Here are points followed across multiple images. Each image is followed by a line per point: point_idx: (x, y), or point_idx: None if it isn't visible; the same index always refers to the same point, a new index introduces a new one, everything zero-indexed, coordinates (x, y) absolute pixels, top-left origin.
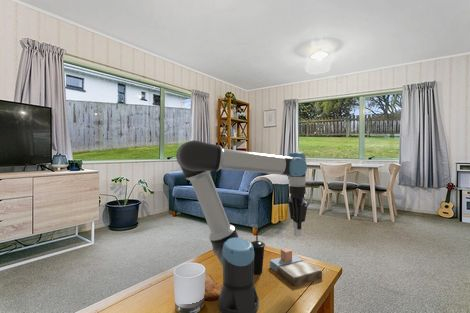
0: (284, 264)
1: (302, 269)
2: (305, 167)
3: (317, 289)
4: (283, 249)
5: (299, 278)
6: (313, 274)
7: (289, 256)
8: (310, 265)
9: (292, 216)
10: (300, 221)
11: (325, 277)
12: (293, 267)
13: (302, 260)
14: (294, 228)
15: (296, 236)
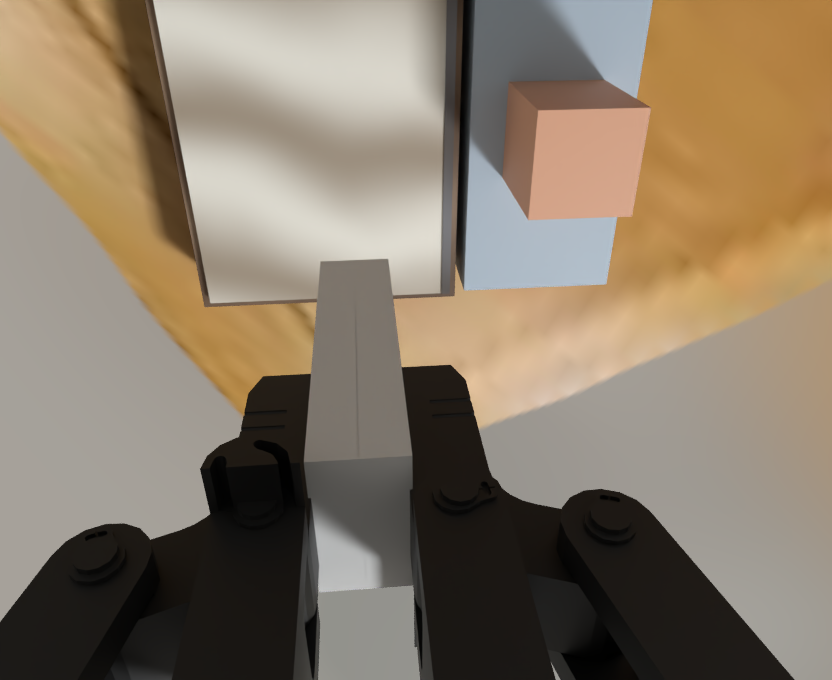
0: (473, 36)
1: (284, 151)
2: None
3: (47, 110)
4: (623, 141)
5: (147, 2)
6: (185, 201)
7: (517, 158)
8: None
9: (585, 591)
10: (65, 554)
11: (222, 311)
12: (361, 87)
13: (463, 284)
14: (384, 338)
15: (322, 266)
